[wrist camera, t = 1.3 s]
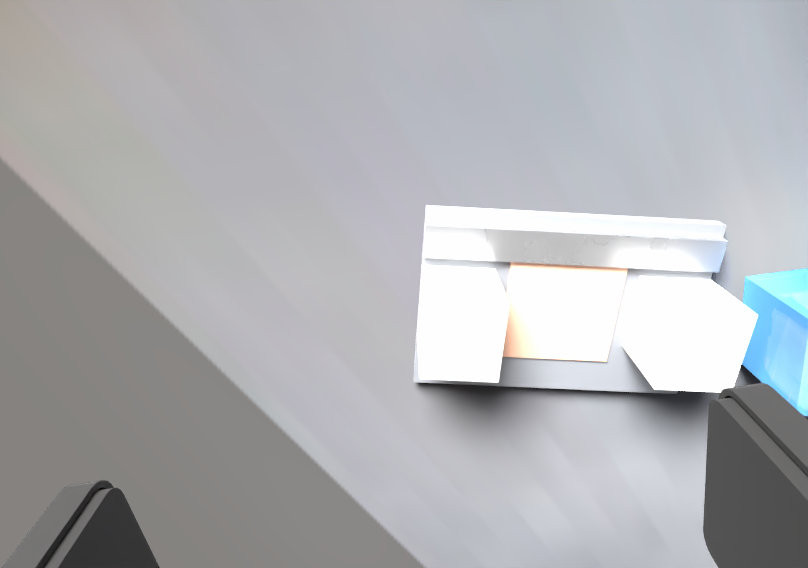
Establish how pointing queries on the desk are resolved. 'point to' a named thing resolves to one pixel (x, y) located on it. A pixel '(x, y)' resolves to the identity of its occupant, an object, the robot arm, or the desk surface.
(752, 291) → the perfume bottle
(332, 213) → the desk surface
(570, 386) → the module rail
